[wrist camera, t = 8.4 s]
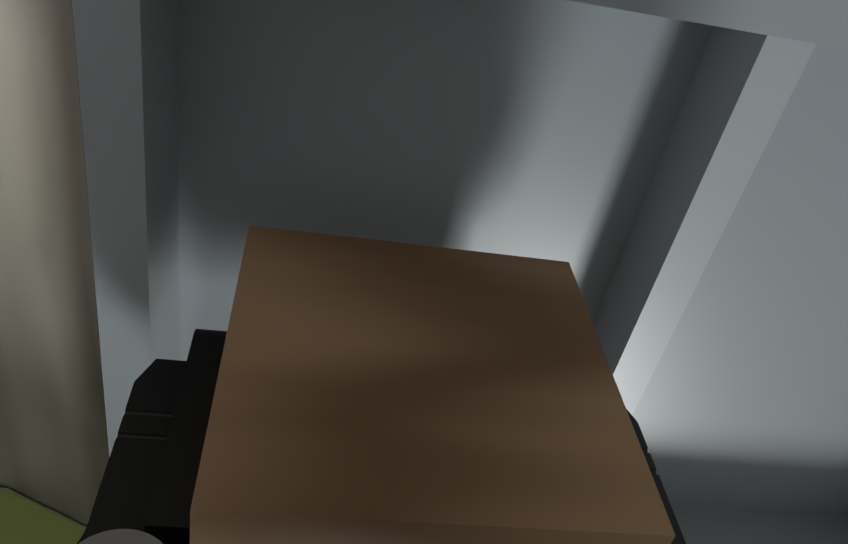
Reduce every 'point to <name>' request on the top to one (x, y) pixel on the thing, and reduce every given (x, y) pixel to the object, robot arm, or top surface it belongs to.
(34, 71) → the top surface
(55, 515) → the protein box
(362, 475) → the walnut cube
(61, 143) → the top surface
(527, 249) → the tray
